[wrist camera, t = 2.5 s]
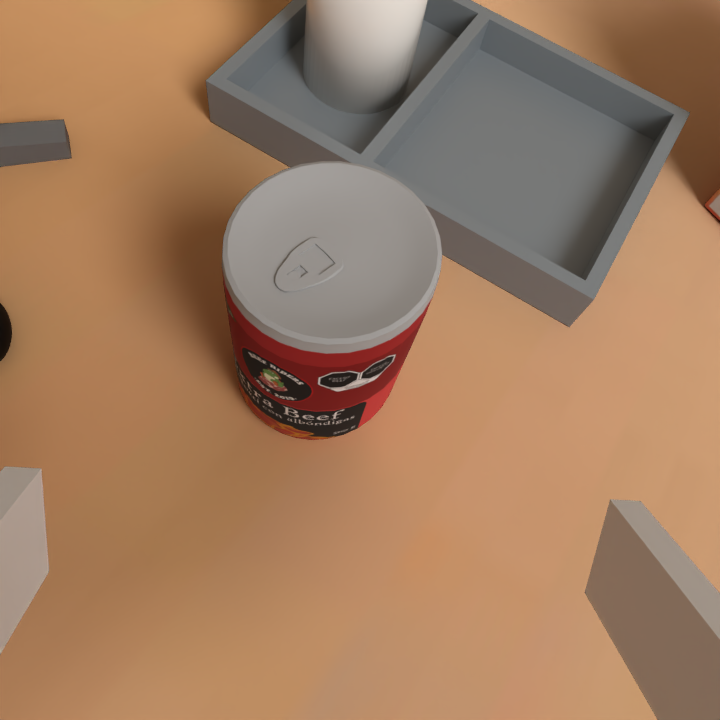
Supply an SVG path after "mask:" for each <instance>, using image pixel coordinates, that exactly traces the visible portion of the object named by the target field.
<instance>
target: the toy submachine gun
mask: <svg viewBox="0 0 720 720" xmlns="http://www.w3.org/2000/svg"><path fill="white" fill-rule="evenodd" d="M69 158H72V157H71V150H70V142H69V135H68V132H67V129H66V125H65V122H64V119H63V120H48V121H33V122H18V123H3V124H0V167H3V166H11V165H19V164H28V163H36V162H44V161H52V160H61V159H69ZM11 338H12V328H11V322H10V319H9V316H8V314H7V312H6V310H5V308H4V307H3V306H2V305H1V303H0V361H1V360H2V359H3V358H4V356H5V355H6V353H7V352H8V349H9V347H10V343H11Z"/></svg>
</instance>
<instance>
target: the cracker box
mask: <svg viewBox="0 0 720 720" xmlns="http://www.w3.org/2000/svg"><path fill="white" fill-rule="evenodd" d="M705 207H706V208H707V209H708V210H709V211H710V212H711V213H712V214H713V215H714V216H715V217H716V218H718V219H719V220H720V188H719V189H718V190H717V191H716V193H715V194H714V195H713V196H712V197H711V198H710V199H709V200H708V201H707V203H706V204H705Z"/></svg>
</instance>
